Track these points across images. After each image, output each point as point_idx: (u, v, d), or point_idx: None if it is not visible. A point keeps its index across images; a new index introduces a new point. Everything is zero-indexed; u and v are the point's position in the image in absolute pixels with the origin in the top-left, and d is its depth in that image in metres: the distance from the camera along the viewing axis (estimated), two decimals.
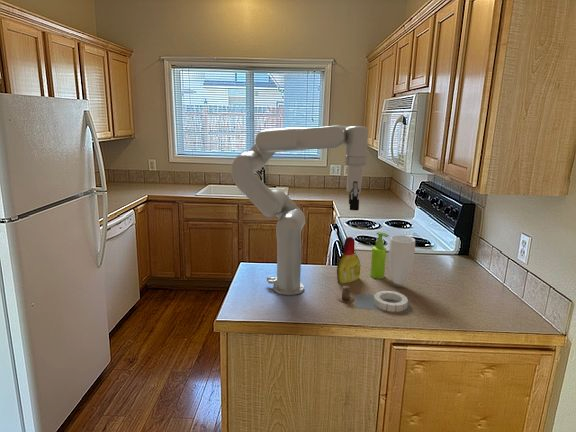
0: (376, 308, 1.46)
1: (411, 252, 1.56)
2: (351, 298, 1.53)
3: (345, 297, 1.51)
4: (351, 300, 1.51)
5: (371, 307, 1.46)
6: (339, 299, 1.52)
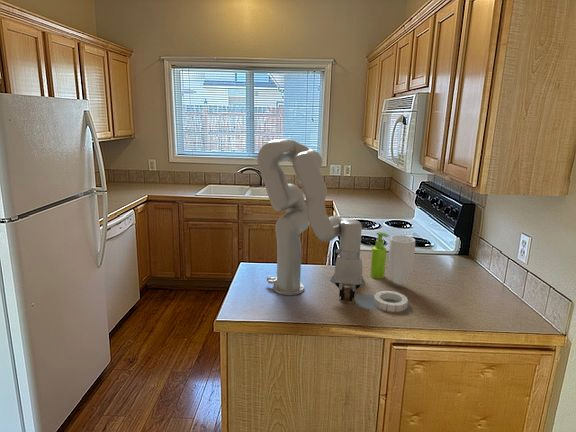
0: (376, 308, 1.46)
1: (411, 252, 1.56)
2: (352, 298, 1.53)
3: (346, 297, 1.51)
4: (352, 300, 1.51)
5: (371, 307, 1.46)
6: (340, 299, 1.52)
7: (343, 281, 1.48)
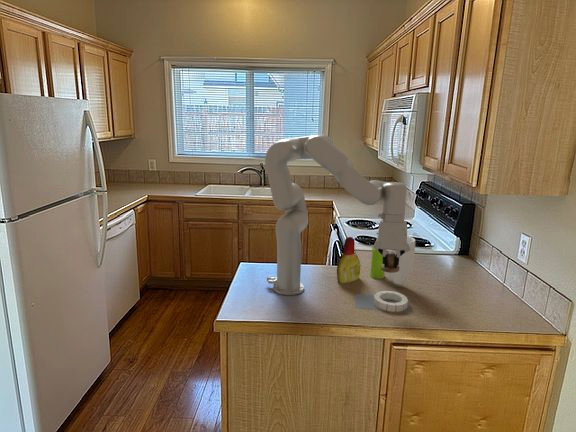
0: (376, 308, 1.46)
1: (411, 252, 1.56)
2: None
3: (390, 264, 1.44)
4: None
5: (371, 307, 1.46)
6: (383, 266, 1.45)
7: (387, 247, 1.41)
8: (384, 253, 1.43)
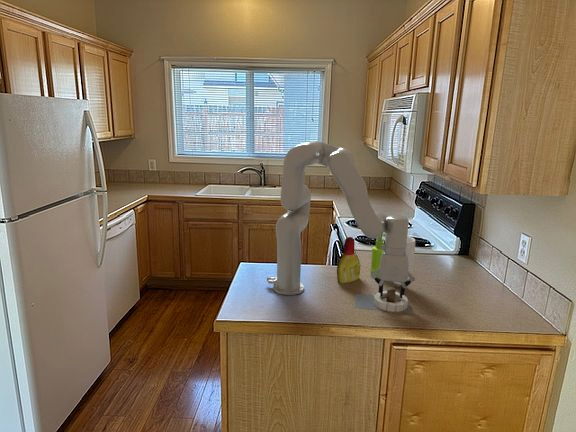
0: (376, 308, 1.46)
1: (411, 252, 1.56)
2: (396, 300, 1.49)
3: (390, 299, 1.47)
4: (396, 302, 1.48)
5: (371, 307, 1.46)
6: None
7: (388, 278, 1.44)
8: (380, 282, 1.47)
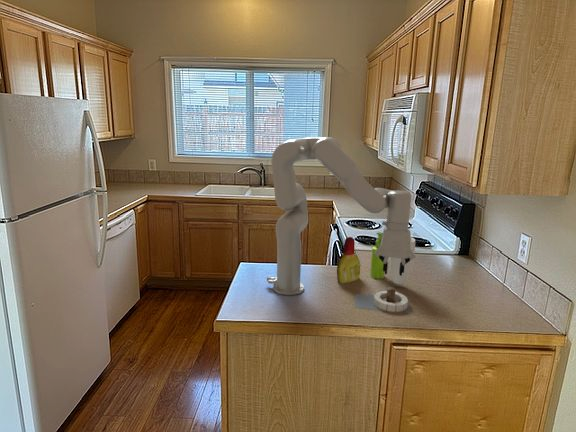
0: (376, 308, 1.46)
1: None
2: (396, 300, 1.49)
3: (390, 299, 1.47)
4: (396, 302, 1.48)
5: (371, 307, 1.46)
6: None
7: (391, 255, 1.42)
8: (385, 260, 1.44)
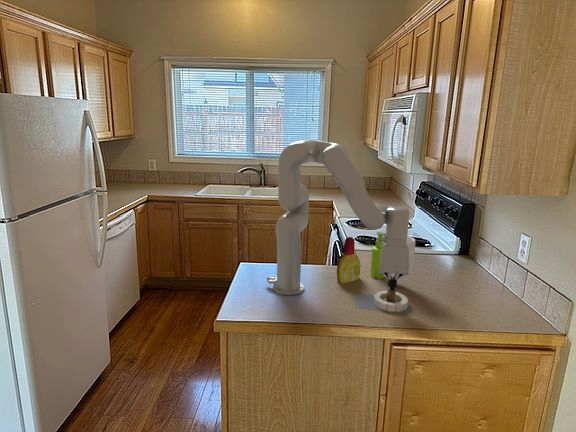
0: (376, 308, 1.46)
1: (411, 252, 1.56)
2: (396, 300, 1.50)
3: (390, 299, 1.47)
4: (396, 302, 1.48)
5: (371, 307, 1.46)
6: None
7: (389, 270, 1.43)
8: (390, 276, 1.45)
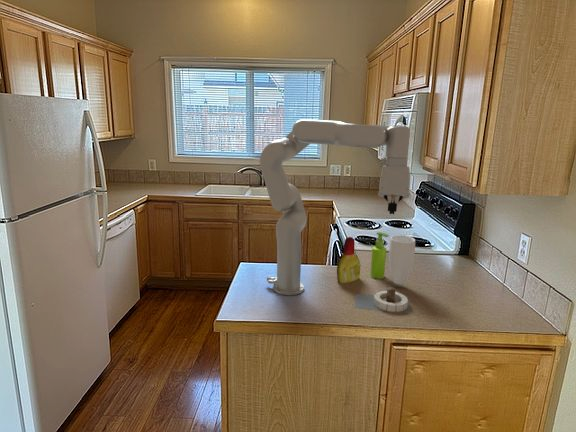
0: (376, 308, 1.46)
1: (411, 252, 1.56)
2: (395, 299, 1.50)
3: (390, 299, 1.47)
4: (396, 302, 1.48)
5: (371, 307, 1.46)
6: None
7: (389, 192, 1.39)
8: (390, 199, 1.41)
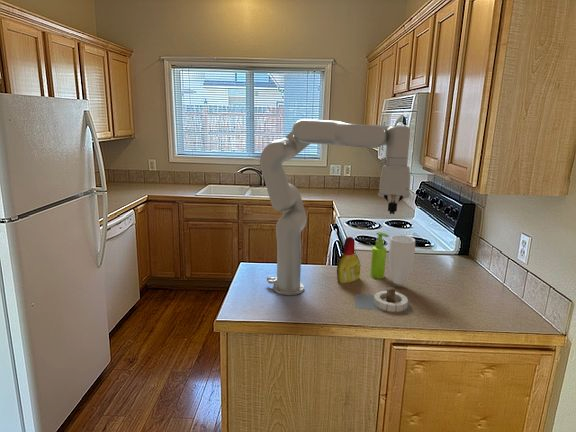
0: (376, 308, 1.46)
1: (411, 252, 1.56)
2: (395, 299, 1.50)
3: (390, 299, 1.47)
4: (396, 301, 1.48)
5: (371, 307, 1.46)
6: None
7: (389, 192, 1.39)
8: (390, 199, 1.41)
